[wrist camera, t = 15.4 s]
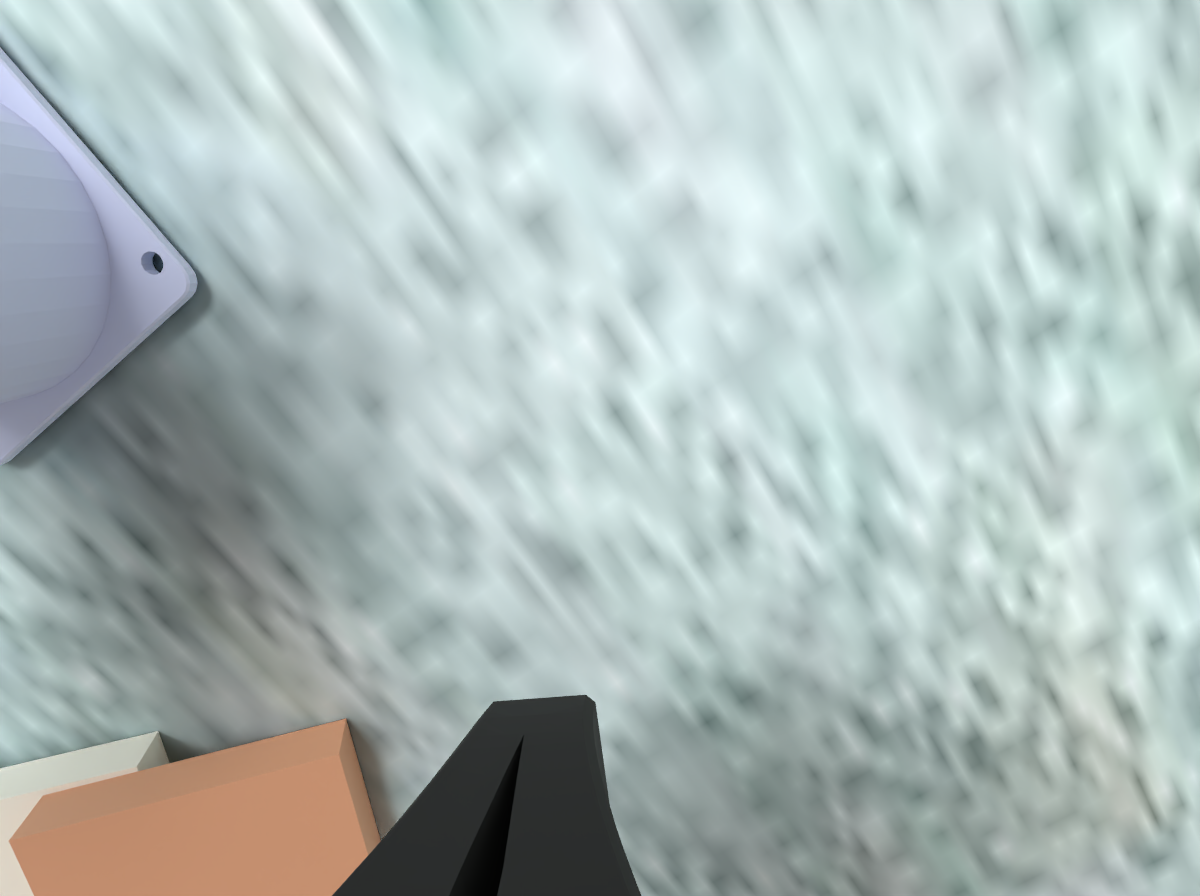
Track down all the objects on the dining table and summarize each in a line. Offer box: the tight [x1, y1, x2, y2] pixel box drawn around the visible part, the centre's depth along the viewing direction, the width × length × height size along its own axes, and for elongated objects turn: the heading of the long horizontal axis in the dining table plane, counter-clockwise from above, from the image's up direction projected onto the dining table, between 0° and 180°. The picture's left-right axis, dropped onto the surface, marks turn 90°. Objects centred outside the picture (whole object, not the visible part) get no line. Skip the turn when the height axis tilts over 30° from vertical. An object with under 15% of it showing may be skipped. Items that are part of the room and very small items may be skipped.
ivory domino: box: [0, 731, 170, 896], centre depth 20 cm, size 2×4×8 cm
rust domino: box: [9, 719, 381, 896], centre depth 19 cm, size 2×4×8 cm
